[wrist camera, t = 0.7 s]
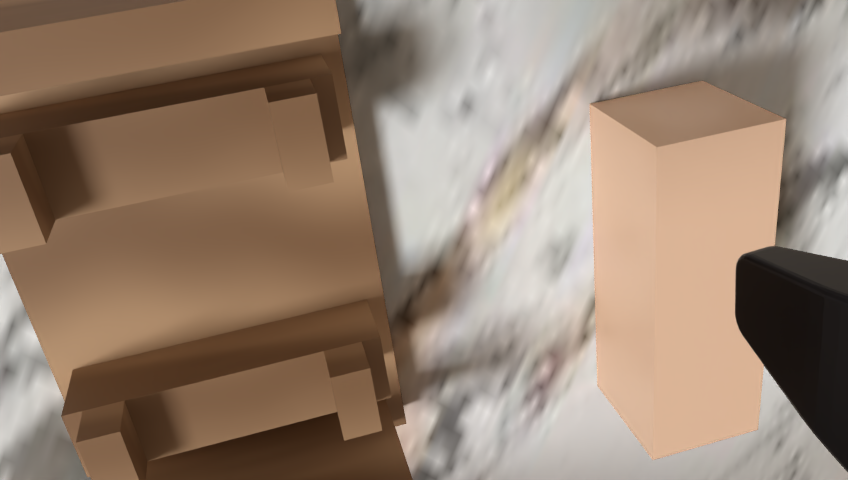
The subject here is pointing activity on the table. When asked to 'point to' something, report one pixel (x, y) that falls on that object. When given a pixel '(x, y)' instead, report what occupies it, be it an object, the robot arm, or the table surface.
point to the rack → (197, 238)
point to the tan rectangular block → (679, 258)
